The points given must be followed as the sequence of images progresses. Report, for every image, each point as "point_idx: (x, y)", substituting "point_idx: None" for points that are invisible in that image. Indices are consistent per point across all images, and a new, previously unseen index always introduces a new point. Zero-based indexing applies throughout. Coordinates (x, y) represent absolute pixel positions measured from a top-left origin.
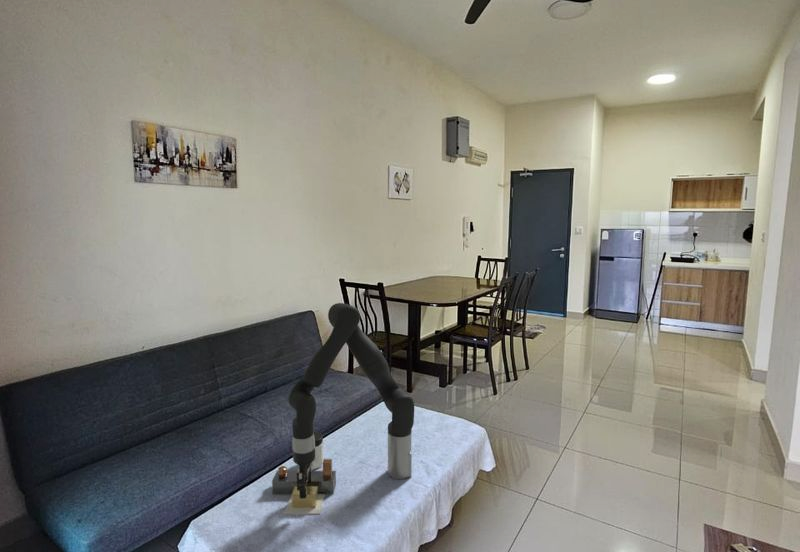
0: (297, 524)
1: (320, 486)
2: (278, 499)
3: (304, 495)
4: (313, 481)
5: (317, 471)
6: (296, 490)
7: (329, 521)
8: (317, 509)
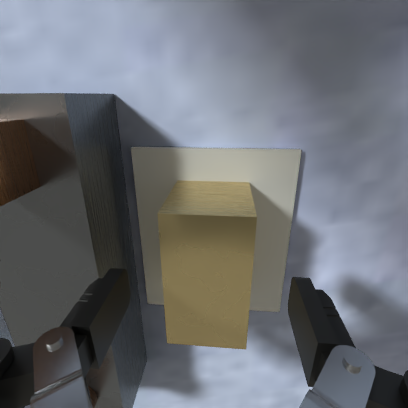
0: (360, 248)
1: (103, 187)
2: None
3: (331, 305)
4: (93, 246)
5: None
6: (206, 332)
7: (375, 78)
8: (266, 170)
